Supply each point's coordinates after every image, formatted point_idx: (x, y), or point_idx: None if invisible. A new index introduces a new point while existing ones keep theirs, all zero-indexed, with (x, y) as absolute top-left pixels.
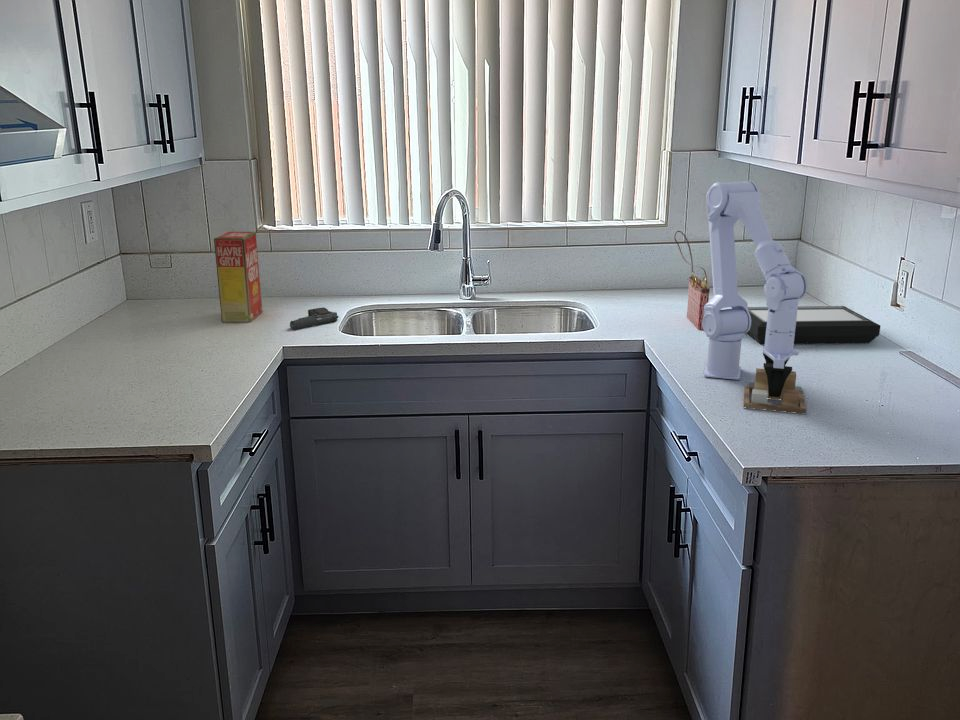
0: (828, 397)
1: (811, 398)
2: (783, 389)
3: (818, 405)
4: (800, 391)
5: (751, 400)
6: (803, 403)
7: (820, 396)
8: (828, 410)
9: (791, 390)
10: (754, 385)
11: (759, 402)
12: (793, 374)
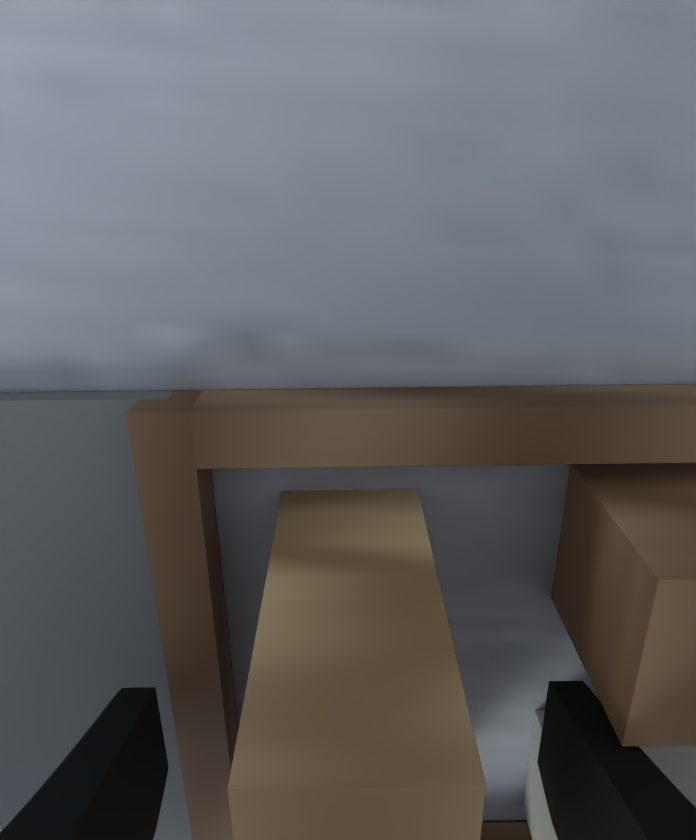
0: (87, 30)
1: (229, 283)
2: (625, 741)
3: (487, 207)
4: (171, 439)
5: None
6: (652, 422)
7: (92, 154)
8: (670, 78)
9: (654, 658)
10: None
11: None
12: (452, 824)
